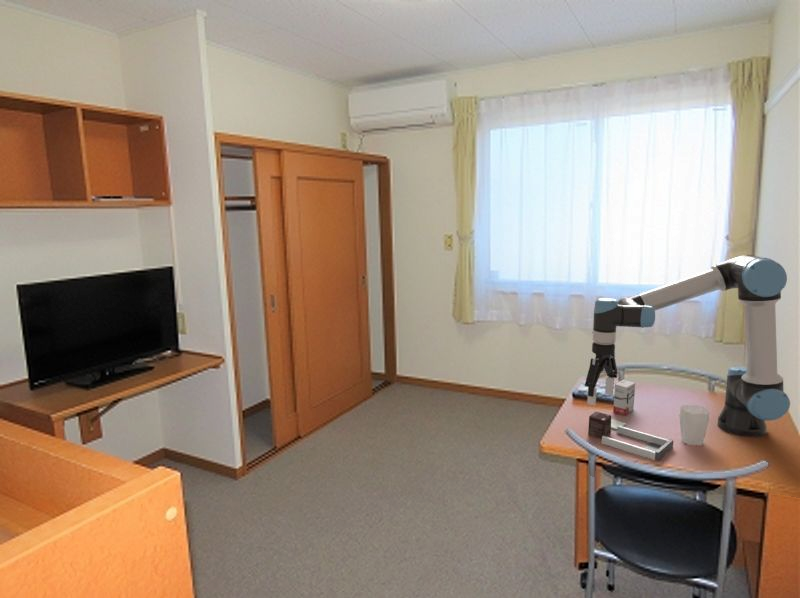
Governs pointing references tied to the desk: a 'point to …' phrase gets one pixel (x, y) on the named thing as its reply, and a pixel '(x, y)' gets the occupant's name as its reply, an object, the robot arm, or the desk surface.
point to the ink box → (624, 397)
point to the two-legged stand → (652, 450)
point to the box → (599, 425)
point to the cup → (693, 424)
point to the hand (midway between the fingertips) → (600, 399)
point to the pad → (616, 424)
